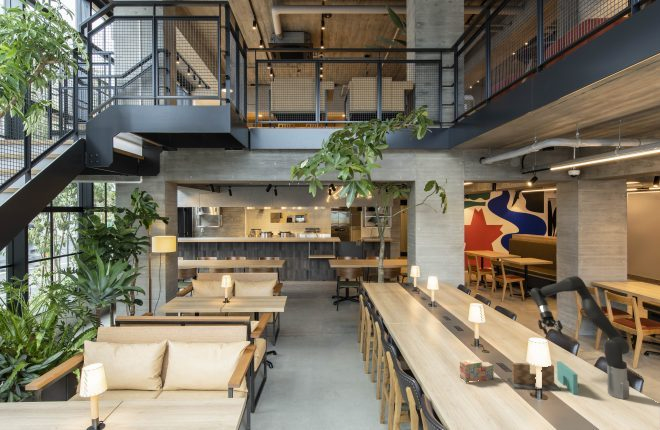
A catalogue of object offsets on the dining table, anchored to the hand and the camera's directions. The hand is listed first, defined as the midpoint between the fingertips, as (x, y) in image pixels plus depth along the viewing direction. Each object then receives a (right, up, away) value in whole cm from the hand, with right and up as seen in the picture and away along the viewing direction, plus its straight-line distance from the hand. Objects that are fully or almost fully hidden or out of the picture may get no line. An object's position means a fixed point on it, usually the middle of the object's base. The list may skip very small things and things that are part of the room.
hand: (553, 334), depth 246 cm
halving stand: (-23, -27, -16) cm, 38 cm away
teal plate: (-3, -27, -18) cm, 32 cm away
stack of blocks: (-54, -28, -6) cm, 61 cm away
